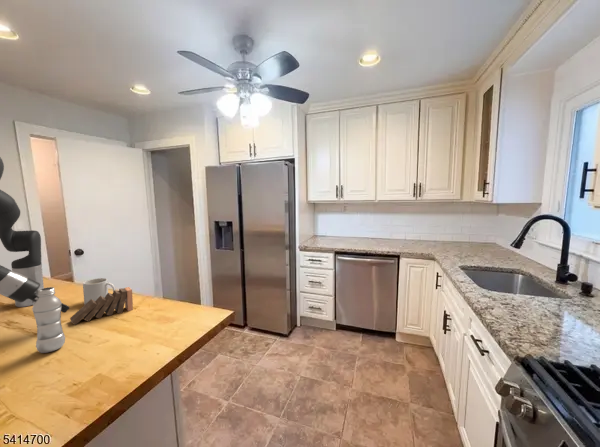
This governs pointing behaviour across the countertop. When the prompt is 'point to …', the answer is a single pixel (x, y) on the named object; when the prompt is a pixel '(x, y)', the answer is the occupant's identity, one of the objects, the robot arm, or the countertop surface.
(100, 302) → the domino
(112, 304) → the domino
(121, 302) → the domino
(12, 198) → the robot arm
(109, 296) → the domino
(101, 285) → the mug
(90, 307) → the domino
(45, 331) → the plastic bottle
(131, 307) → the domino
